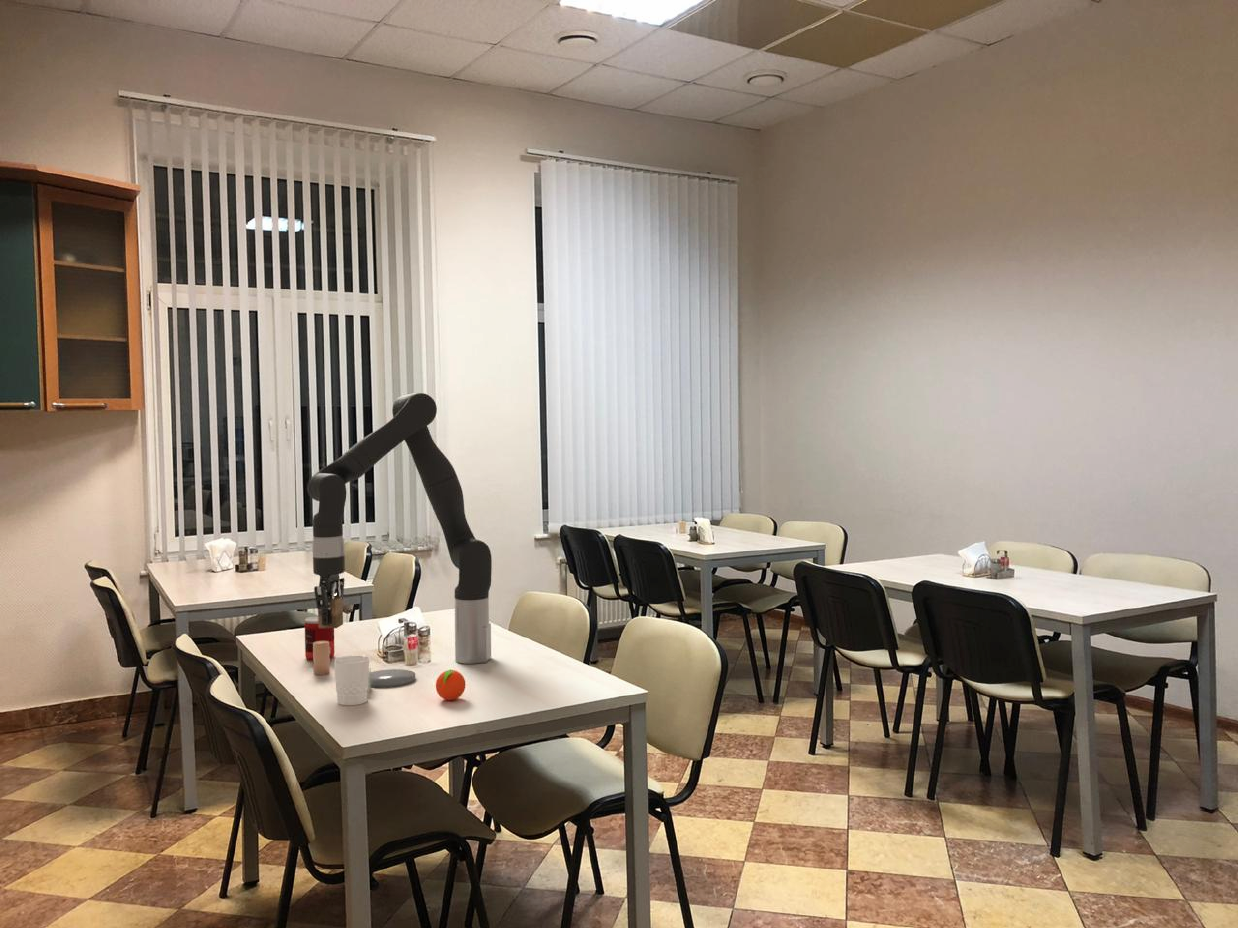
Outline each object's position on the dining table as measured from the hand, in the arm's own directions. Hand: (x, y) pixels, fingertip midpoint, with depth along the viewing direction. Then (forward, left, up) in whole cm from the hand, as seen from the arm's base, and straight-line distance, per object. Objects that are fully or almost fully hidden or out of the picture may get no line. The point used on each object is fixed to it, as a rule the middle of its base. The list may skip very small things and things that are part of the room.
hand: (330, 622), depth 240 cm
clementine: (-33, +11, -16) cm, 38 cm away
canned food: (+14, -27, -16) cm, 34 cm away
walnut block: (0, 0, -1) cm, 1 cm away
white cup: (-10, +14, -16) cm, 23 cm away
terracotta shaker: (+7, -11, -16) cm, 20 cm away
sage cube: (-9, +5, -16) cm, 19 cm away
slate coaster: (-13, -5, -16) cm, 21 cm away
